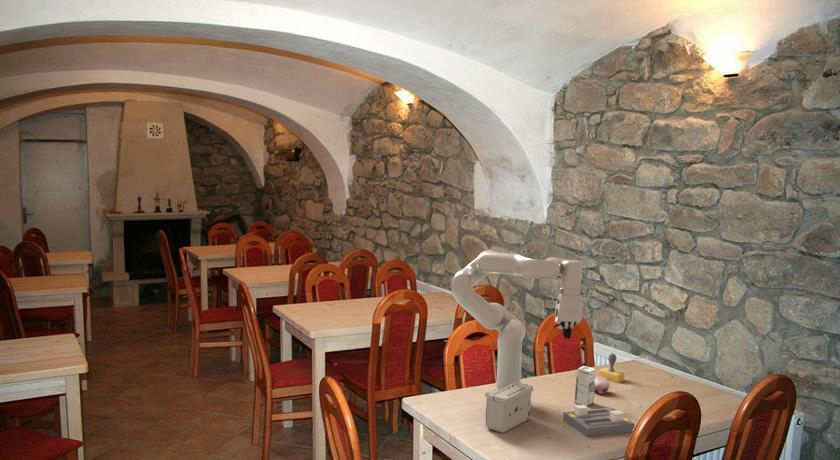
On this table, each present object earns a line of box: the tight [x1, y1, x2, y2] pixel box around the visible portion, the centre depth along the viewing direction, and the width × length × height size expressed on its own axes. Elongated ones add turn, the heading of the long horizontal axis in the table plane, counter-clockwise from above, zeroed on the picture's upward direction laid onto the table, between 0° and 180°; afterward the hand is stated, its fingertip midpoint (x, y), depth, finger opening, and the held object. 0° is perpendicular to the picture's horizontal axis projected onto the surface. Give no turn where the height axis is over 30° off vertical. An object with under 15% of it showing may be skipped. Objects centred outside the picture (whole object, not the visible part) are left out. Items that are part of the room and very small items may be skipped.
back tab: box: [573, 404, 589, 416], centre depth 245 cm, size 4×3×3 cm
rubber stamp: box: [598, 353, 625, 384], centre depth 299 cm, size 10×6×12 cm, turn 44°
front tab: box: [609, 410, 625, 421], centre depth 241 cm, size 4×3×3 cm
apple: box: [594, 374, 610, 395], centre depth 280 cm, size 8×8×7 cm
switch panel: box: [562, 407, 635, 438], centre depth 243 cm, size 20×16×4 cm
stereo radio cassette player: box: [485, 378, 534, 434], centre depth 241 cm, size 21×8×20 cm, turn 141°
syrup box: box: [574, 365, 597, 407], centre depth 266 cm, size 6×6×14 cm
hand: (566, 337), depth 257 cm, fingers closed
